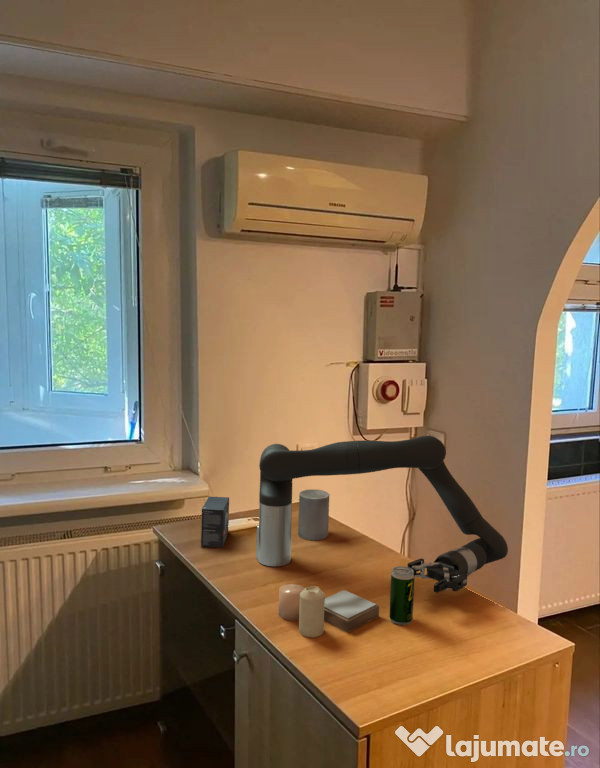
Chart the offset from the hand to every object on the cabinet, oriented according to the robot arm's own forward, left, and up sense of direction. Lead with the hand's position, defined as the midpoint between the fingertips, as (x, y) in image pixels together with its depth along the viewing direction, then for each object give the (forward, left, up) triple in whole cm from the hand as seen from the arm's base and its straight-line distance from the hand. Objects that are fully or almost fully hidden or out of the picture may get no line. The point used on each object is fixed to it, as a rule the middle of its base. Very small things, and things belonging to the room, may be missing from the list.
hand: (419, 582), depth 146 cm
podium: (-10, -15, -7) cm, 19 cm away
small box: (-69, -9, -7) cm, 70 cm away
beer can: (0, -7, -7) cm, 10 cm away
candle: (-10, -26, -7) cm, 29 cm away
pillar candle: (-52, +17, -7) cm, 55 cm away
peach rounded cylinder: (-19, -24, -7) cm, 32 cm away
